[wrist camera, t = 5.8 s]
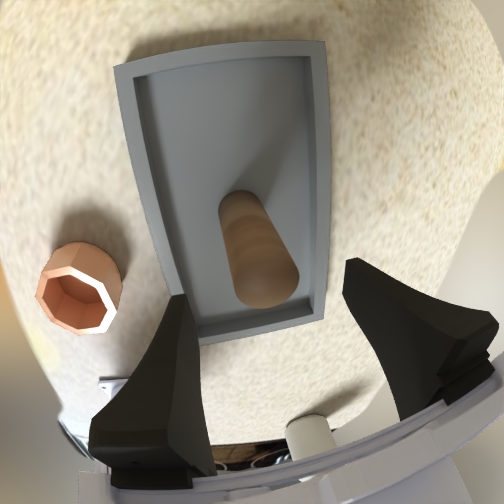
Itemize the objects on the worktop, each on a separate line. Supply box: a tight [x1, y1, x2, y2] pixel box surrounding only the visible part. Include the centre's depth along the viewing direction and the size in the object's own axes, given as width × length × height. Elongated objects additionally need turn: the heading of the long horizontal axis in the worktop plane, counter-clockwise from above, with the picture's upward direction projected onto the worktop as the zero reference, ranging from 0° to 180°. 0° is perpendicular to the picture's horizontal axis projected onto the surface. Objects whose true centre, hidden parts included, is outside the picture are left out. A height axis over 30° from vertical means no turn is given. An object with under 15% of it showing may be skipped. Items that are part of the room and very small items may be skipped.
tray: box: [113, 40, 331, 346], centre depth 19 cm, size 22×12×2 cm, turn 6°
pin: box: [218, 190, 300, 309], centre depth 16 cm, size 3×3×8 cm
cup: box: [35, 242, 123, 335], centre depth 19 cm, size 6×6×4 cm
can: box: [284, 414, 344, 482], centre depth 38 cm, size 8×8×12 cm
